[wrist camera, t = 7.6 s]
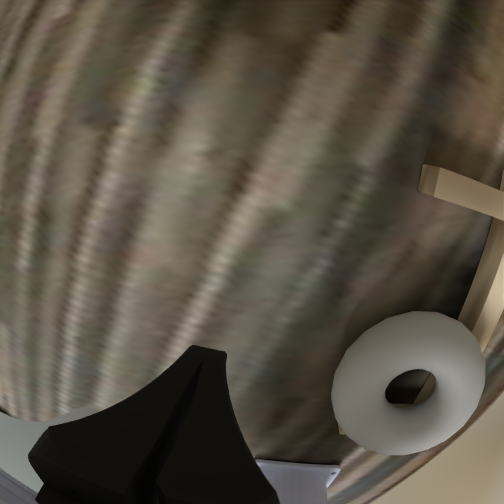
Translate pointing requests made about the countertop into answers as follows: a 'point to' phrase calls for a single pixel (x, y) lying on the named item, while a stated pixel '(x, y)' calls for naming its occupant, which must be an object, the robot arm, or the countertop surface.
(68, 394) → the countertop surface
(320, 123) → the countertop surface
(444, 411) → the white rubber ring
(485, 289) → the drawer pull handle
